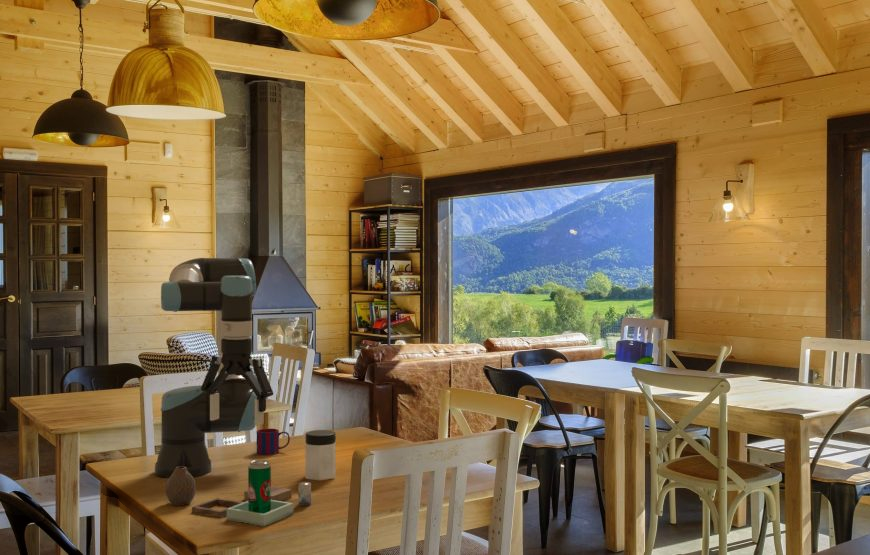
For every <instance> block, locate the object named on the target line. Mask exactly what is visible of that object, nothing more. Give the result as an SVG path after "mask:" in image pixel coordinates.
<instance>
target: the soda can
mask: <svg viewBox="0 0 870 555" xmlns="http://www.w3.org/2000/svg"><path fill="white" fill-rule="evenodd" d="M247 471H248V473H247V474H248V476H247V478H248V480H247V483H248V487H247V490H248V500H247V501H248V511H250V512H256V513H262V514H264V513H267V512H269V511H271V486H272V466H271V464H270V461H269V460H267V459H257V460H252V461H250V462H249V465H248V467H247Z"/></svg>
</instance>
